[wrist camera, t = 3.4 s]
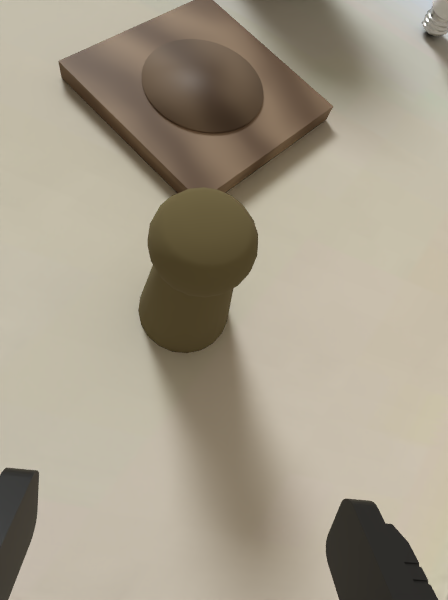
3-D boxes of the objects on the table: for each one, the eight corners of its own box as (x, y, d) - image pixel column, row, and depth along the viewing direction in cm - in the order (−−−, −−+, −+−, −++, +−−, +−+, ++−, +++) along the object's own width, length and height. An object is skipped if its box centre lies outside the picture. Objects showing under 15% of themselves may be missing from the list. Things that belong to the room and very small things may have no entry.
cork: (245, 317, 29) (302, 237, 19) (177, 371, 26) (201, 314, 16) (189, 253, 30) (215, 146, 20) (119, 301, 27) (109, 206, 17)
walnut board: (197, 212, 31) (200, 199, 29) (61, 77, 33) (58, 58, 32) (325, 119, 37) (334, 104, 36) (204, 10, 39) (206, -8, 38)
